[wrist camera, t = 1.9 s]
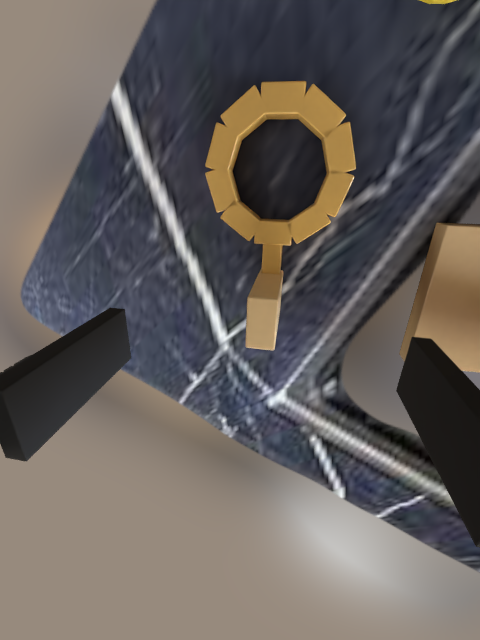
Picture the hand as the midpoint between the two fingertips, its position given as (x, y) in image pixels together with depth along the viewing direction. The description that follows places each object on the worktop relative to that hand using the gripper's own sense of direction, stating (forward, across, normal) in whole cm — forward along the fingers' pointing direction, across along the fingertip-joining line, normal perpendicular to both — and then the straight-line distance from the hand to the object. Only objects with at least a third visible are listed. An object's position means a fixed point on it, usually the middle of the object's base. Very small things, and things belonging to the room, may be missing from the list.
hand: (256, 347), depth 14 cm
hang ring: (+8, 0, +5) cm, 10 cm away
